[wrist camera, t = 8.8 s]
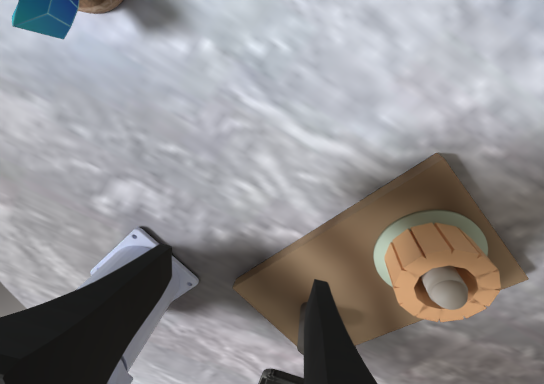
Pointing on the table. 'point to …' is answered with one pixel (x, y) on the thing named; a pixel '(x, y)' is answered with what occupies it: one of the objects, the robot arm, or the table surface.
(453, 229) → the ring
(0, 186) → the table surface
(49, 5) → the gemstone
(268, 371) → the black wedge
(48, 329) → the robot arm
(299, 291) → the stand board
